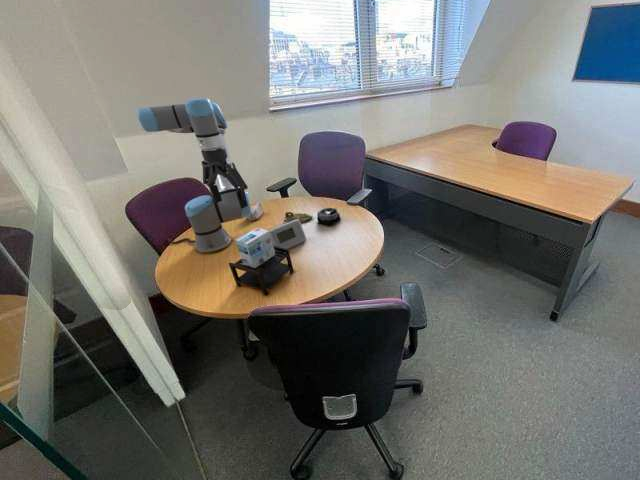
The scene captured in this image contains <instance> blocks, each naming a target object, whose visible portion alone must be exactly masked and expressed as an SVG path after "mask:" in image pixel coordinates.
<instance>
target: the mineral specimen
mask: <svg viewBox="0 0 640 480" xmlns="http://www.w3.org/2000/svg"><path fill="white" fill-rule="evenodd" d="M250 209H251V215H250V216H248V217H246V218H247V220H248V221H250V222H254V221H256V220H258V219H259V218H260V217H262V215H263V214H264V211H263V207H262V204H261V203H260V202H256V203H255V204H254V205H253V206H250Z"/></svg>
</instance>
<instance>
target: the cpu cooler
mask: <svg viewBox="0 0 640 480" xmlns="http://www.w3.org/2000/svg"><path fill="white" fill-rule="evenodd" d="M337 209H338V208H335V207H325V208H322V209H320V210H319V211H317V217H316V218H317V223H318V224H320V225H323V226H328V227H330V226H331V227H332V226H333V225H335V224H336V223H338V222H340V221H341V214H340V213H339V211H338V210H337Z"/></svg>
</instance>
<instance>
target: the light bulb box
mask: <svg viewBox="0 0 640 480" xmlns="http://www.w3.org/2000/svg"><path fill="white" fill-rule="evenodd" d="M234 241H235V243H236V246H237V249H238V252H239V255H240V259H242V261H243V264H244V265H247V266H250V267H252V268H256V267H257V266H259V265H260V264H262V263H264V262H265V261H267V260H268V259H270V258H271V257H273V256H274V255H275V251H274V247H273V243H272V240H271V236H270V232H269V230H267V229H263V228H261V227H256V228H254V229H252V230H250V231H249V232H247V233H245V234H243V235H241V236H240V237H238V238H236V239H235V240H234Z"/></svg>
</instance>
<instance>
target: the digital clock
mask: <svg viewBox="0 0 640 480" xmlns="http://www.w3.org/2000/svg"><path fill="white" fill-rule="evenodd" d="M268 231H269V232H270V236H271V240H272V243H273V246H277V247H281V248H285V249H288V250H290V249H292V248H293V247H296V246H298V245H300V244H302V243H303V242H305V241H306V240H307V236H306V234H305V230H304V228H303V225H302V223H300V221H299V219H296V220H293V221H290V222H287V221H286V222H285V223H283V224H280V225H277V226H275V227H274V228H271V229H269V230H268ZM275 251H277V250H275ZM279 252H280V251H279Z"/></svg>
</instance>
